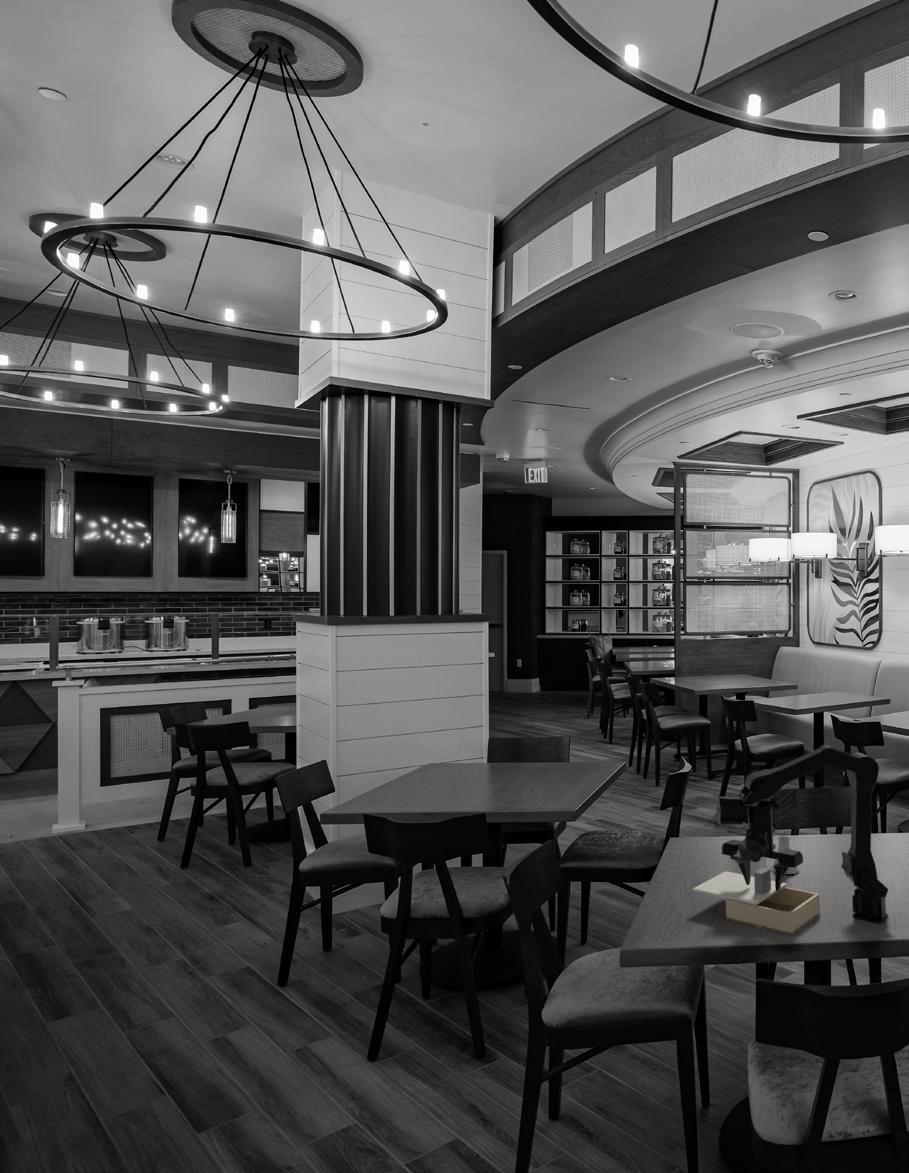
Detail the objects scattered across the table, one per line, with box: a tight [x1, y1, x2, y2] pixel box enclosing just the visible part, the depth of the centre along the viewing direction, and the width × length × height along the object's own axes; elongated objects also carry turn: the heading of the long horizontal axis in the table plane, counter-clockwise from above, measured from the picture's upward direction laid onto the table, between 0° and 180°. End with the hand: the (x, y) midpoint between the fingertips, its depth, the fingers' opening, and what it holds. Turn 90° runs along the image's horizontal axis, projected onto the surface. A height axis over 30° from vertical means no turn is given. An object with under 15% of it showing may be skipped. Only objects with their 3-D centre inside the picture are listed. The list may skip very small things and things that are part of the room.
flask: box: [770, 835, 800, 875], centre depth 244 cm, size 7×7×10 cm
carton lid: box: [692, 868, 788, 905], centre depth 215 cm, size 16×18×6 cm
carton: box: [725, 886, 821, 936], centre depth 209 cm, size 16×18×5 cm
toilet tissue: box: [726, 837, 768, 877], centre depth 239 cm, size 11×12×10 cm
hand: (762, 887), depth 211 cm, fingers open, 7 cm apart
